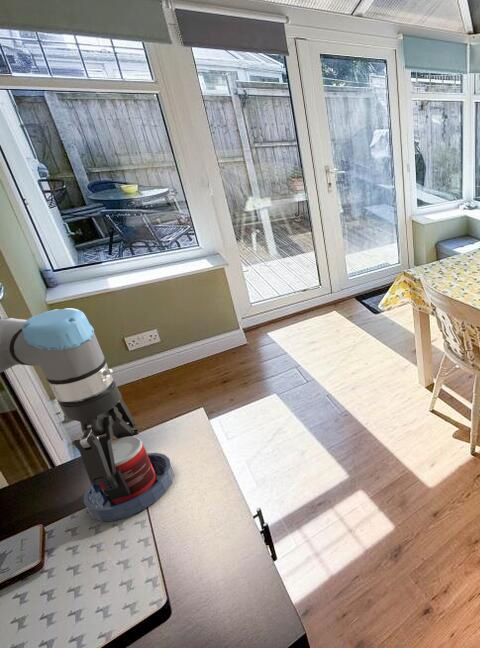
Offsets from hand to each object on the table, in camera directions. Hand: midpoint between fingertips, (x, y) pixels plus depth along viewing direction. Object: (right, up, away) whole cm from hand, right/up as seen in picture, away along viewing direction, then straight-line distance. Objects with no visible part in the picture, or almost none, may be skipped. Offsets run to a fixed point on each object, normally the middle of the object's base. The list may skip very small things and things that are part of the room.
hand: (128, 478), depth 84 cm
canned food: (0, -3, +1) cm, 3 cm away
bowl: (0, -3, +1) cm, 4 cm away
